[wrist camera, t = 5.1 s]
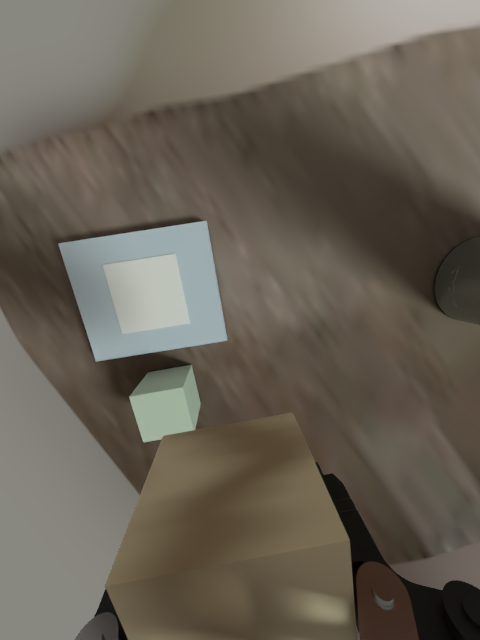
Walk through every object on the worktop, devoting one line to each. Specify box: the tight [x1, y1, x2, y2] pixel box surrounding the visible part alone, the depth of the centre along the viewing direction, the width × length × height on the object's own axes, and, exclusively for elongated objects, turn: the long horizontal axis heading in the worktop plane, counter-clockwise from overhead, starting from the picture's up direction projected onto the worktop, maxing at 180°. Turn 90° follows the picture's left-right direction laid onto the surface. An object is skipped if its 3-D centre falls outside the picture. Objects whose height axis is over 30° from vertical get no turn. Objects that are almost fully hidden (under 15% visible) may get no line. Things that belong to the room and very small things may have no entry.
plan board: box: [58, 221, 227, 362], centre depth 23 cm, size 14×12×1 cm
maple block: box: [105, 413, 357, 640], centre depth 9 cm, size 6×6×5 cm
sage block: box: [129, 365, 201, 442], centre depth 24 cm, size 5×5×5 cm
